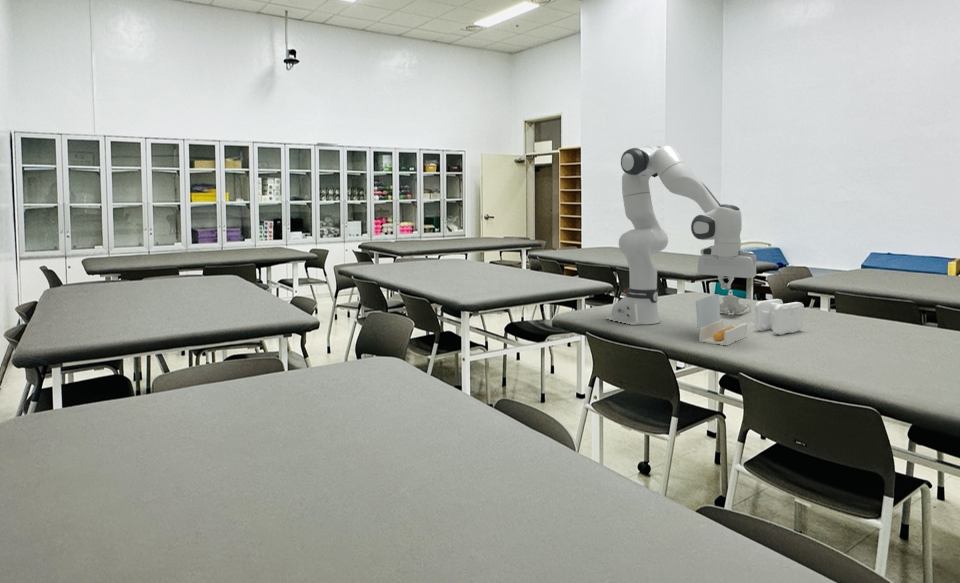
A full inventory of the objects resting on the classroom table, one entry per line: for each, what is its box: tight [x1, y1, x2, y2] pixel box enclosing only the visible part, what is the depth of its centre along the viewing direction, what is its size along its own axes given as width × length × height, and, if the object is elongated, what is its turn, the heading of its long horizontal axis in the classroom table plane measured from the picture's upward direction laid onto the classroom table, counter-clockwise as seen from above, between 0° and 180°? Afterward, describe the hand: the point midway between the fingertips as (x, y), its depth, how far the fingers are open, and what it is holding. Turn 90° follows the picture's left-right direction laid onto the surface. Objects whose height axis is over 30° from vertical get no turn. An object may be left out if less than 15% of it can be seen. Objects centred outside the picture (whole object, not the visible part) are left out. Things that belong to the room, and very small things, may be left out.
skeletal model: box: [719, 289, 752, 315], centre depth 276 cm, size 16×9×25 cm
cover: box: [695, 293, 721, 329], centre depth 235 cm, size 10×18×1 cm
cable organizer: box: [753, 298, 805, 336], centre depth 242 cm, size 15×11×12 cm
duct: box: [698, 319, 748, 347], centre depth 232 cm, size 10×18×5 cm, turn 137°
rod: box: [713, 326, 735, 341], centre depth 232 cm, size 3×16×3 cm, turn 136°
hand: (725, 288), depth 230 cm, fingers closed
